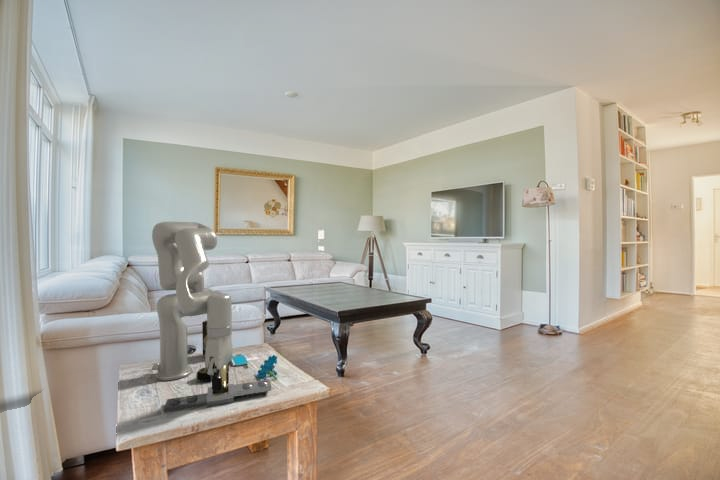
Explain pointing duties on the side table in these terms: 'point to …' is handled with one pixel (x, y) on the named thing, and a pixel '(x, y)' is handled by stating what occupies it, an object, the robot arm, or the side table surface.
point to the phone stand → (242, 360)
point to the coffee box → (204, 336)
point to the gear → (268, 368)
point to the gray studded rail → (218, 396)
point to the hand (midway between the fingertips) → (220, 386)
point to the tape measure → (203, 375)
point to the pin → (224, 382)
